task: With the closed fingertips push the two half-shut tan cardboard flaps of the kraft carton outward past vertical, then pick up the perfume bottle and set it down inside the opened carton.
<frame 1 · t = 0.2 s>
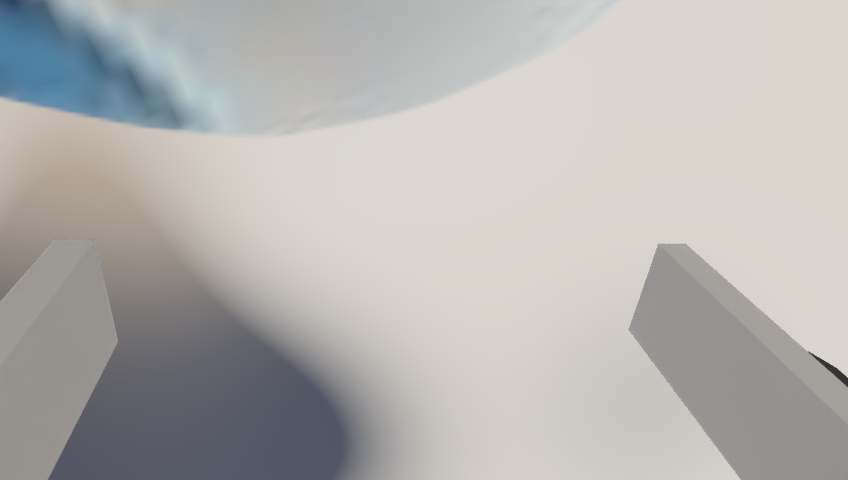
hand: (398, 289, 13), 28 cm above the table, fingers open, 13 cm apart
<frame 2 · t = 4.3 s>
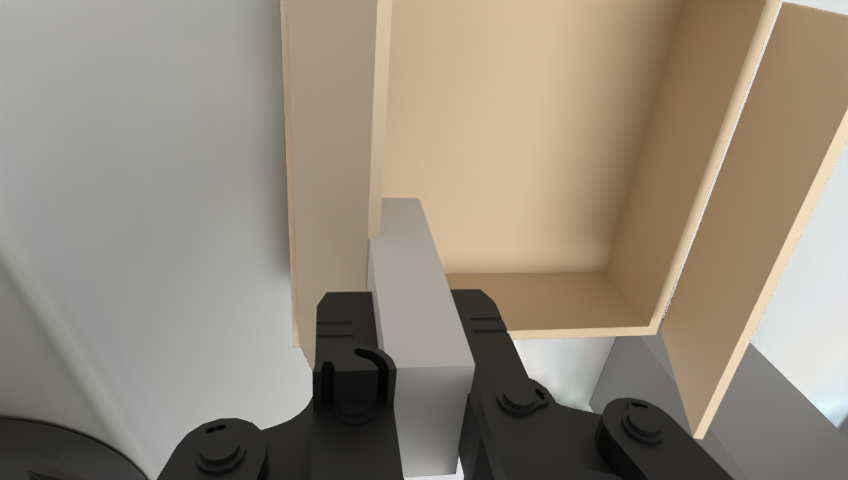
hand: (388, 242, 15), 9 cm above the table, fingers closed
carton: (481, 133, 24), on the table
flap 1: (741, 227, 18), point 9 cm above the table, hinge at 70.0°
flap 2: (329, 226, 15), point 9 cm above the table, hinge at 71.0°, touching gripper
perfume bottle: (654, 361, 33), on the table
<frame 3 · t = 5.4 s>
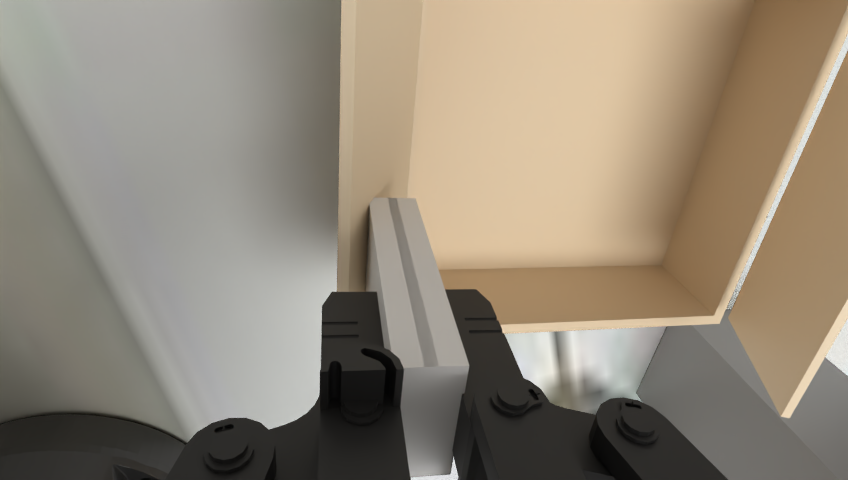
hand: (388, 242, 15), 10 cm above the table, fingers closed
carton: (555, 133, 25), on the table
flap 1: (826, 219, 19), point 9 cm above the table, hinge at 70.0°
flap 2: (378, 220, 16), point 9 cm above the table, hinge at 112.8°, touching gripper
perfume bottle: (699, 350, 35), on the table
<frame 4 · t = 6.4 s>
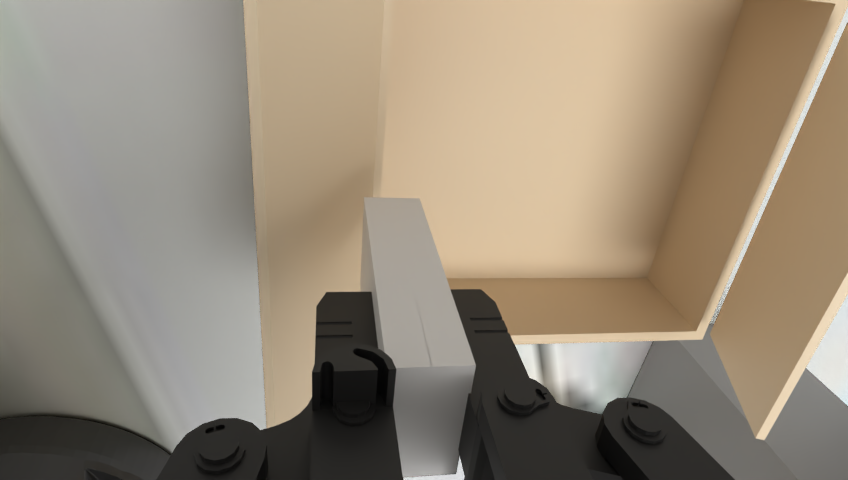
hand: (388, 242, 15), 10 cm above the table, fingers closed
carton: (536, 142, 25), on the table
flap 1: (804, 236, 18), point 9 cm above the table, hinge at 70.0°
flap 2: (324, 226, 16), point 8 cm above the table, hinge at 119.0°
perfume bottle: (688, 365, 34), on the table
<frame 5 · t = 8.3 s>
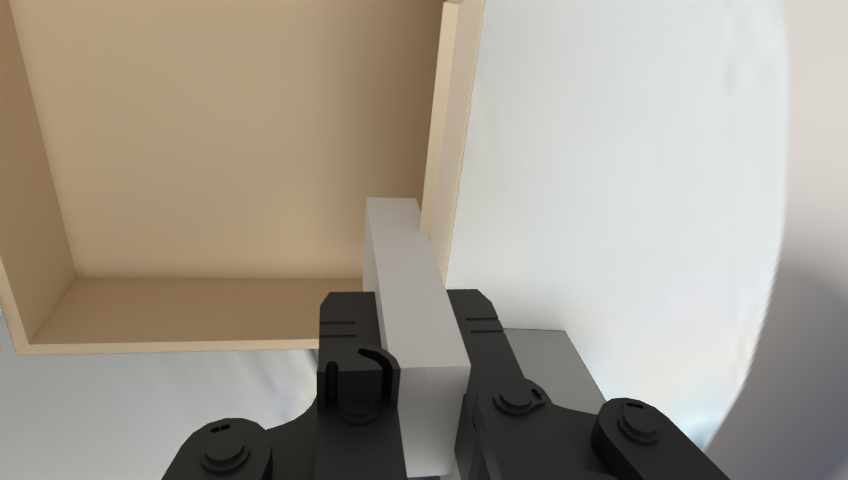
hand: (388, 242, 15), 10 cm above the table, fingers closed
carton: (246, 129, 23), on the table
flap 1: (438, 231, 16), point 9 cm above the table, hinge at 70.7°, touching gripper
perfume bottle: (493, 372, 32), on the table
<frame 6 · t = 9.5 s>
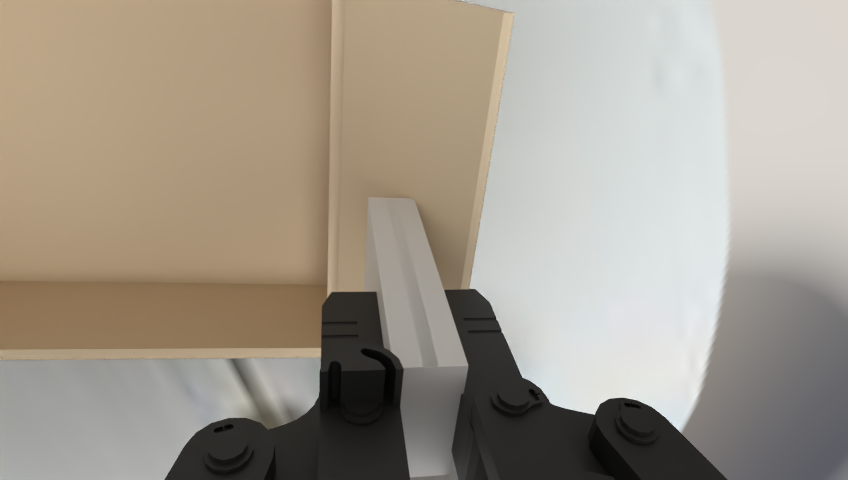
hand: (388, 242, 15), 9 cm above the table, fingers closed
carton: (140, 128, 22), on the table
flap 1: (396, 237, 16), point 8 cm above the table, hinge at 120.5°, touching gripper
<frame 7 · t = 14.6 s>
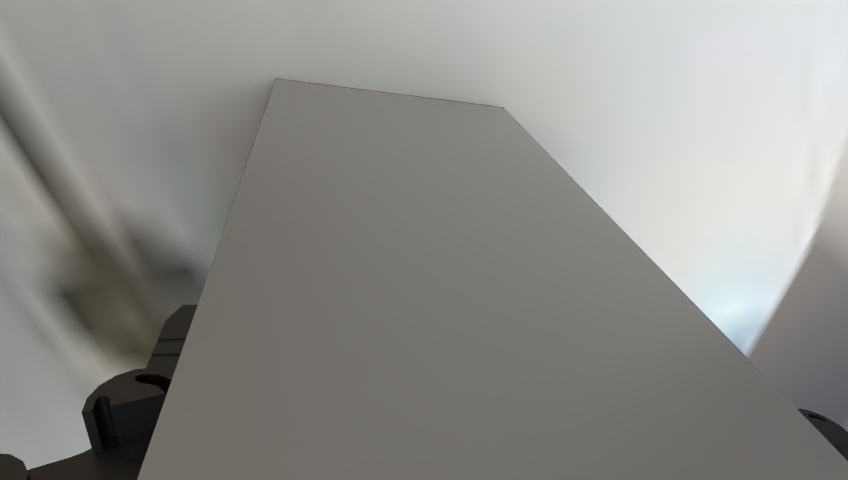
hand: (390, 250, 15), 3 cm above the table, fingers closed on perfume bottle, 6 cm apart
perfume bottle: (379, 194, 18), on the table, touching gripper
when the fingers open (6 cm above the table, at t = 19.8 s): perfume bottle drops 2 cm, resting on carton.
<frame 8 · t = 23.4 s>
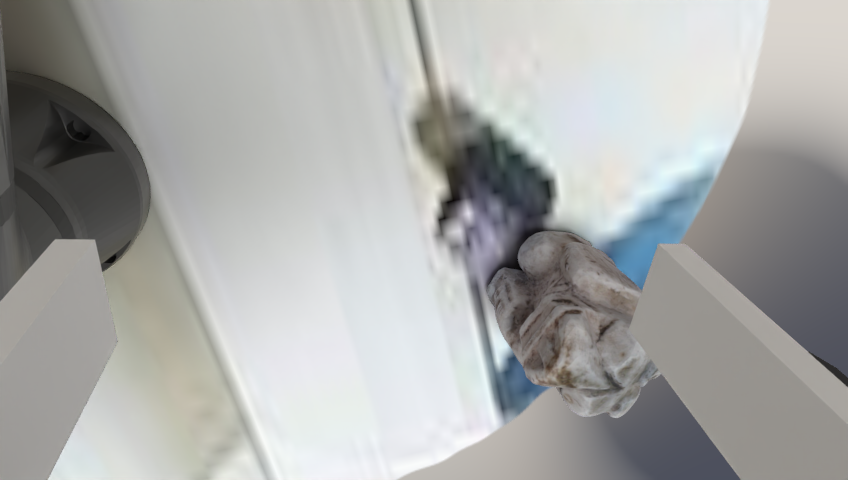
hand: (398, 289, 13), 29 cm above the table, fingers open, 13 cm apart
figurine: (544, 271, 50), on the table
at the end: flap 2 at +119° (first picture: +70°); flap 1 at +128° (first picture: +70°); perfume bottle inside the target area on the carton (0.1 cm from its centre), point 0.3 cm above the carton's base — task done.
